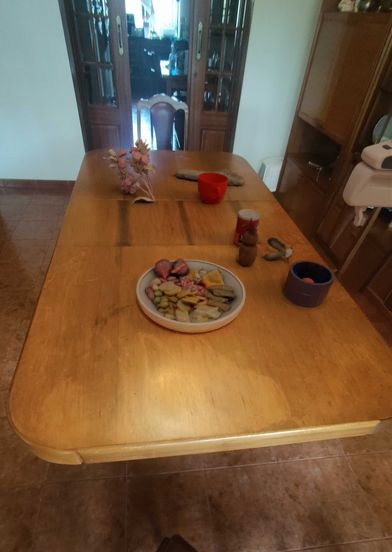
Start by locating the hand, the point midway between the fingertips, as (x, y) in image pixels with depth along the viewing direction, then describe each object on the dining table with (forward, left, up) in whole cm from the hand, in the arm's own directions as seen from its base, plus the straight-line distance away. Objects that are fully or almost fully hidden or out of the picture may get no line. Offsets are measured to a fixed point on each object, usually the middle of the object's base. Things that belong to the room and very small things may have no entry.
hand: (377, 225), depth 70 cm
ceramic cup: (+26, -77, -27) cm, 86 cm away
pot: (+5, -11, -27) cm, 30 cm away
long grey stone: (+24, -105, -27) cm, 111 cm away
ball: (+5, -11, -24) cm, 27 cm away
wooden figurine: (+20, -28, -27) cm, 44 cm away
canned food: (+18, -42, -27) cm, 53 cm away
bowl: (+40, -7, -27) cm, 49 cm away
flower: (+60, -81, -27) cm, 104 cm away
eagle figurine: (+8, -32, -27) cm, 43 cm away
